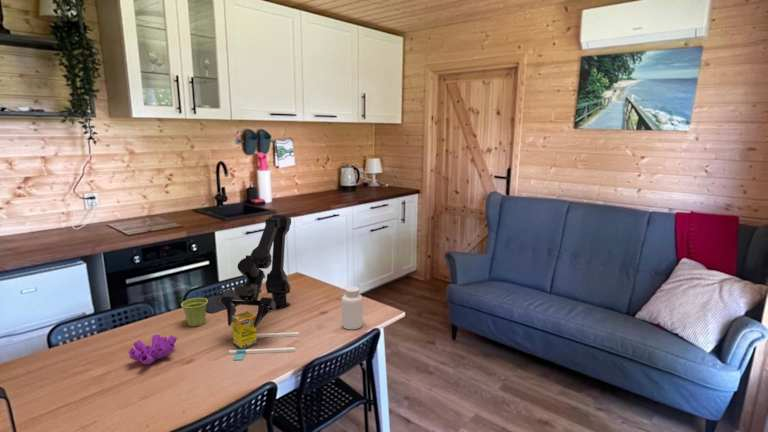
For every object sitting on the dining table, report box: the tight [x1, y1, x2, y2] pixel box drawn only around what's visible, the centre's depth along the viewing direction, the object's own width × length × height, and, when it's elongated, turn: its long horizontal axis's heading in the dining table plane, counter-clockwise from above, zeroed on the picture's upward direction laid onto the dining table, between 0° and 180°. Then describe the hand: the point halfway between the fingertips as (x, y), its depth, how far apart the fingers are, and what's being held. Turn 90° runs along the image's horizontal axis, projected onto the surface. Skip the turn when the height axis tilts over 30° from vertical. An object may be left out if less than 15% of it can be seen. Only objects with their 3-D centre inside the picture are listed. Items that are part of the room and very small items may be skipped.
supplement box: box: [231, 310, 258, 350], centre depth 148 cm, size 6×6×11 cm
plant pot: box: [180, 297, 208, 327], centre depth 164 cm, size 9×9×9 cm
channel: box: [228, 331, 300, 362], centre depth 149 cm, size 22×20×1 cm
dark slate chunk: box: [206, 284, 243, 315], centre depth 185 cm, size 15×22×5 cm
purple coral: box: [128, 334, 178, 365], centre depth 139 cm, size 11×15×10 cm
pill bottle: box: [341, 286, 364, 330], centre depth 162 cm, size 8×8×15 cm
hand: (241, 326), depth 146 cm, fingers open, 9 cm apart
